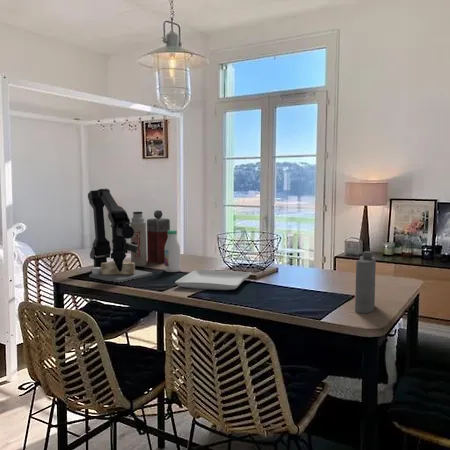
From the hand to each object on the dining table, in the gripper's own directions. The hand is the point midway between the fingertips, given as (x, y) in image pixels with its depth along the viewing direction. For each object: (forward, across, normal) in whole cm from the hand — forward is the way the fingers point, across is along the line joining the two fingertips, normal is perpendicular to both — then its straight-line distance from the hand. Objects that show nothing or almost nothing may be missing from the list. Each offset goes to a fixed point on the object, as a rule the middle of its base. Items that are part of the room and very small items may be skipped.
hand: (120, 271), depth 215 cm
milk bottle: (+4, +14, -24) cm, 28 cm away
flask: (+7, -63, -89) cm, 109 cm away
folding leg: (+2, +4, +1) cm, 4 cm away
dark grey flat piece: (+3, +6, +1) cm, 7 cm away
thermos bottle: (+3, +34, -7) cm, 35 cm away
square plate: (+5, -17, -41) cm, 45 cm away
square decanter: (+3, +42, -17) cm, 46 cm away
